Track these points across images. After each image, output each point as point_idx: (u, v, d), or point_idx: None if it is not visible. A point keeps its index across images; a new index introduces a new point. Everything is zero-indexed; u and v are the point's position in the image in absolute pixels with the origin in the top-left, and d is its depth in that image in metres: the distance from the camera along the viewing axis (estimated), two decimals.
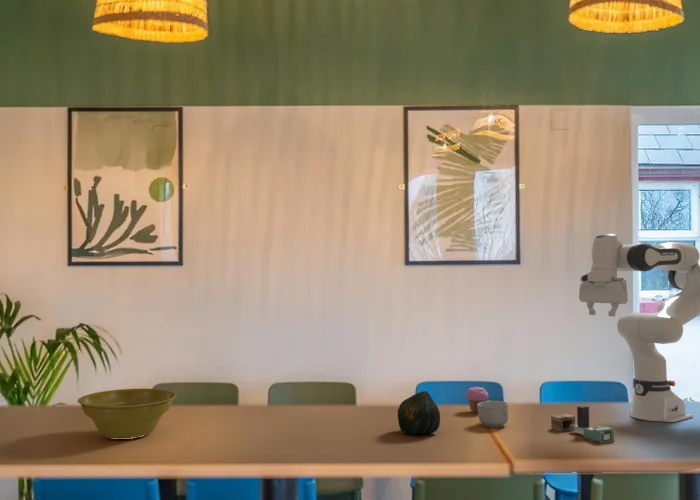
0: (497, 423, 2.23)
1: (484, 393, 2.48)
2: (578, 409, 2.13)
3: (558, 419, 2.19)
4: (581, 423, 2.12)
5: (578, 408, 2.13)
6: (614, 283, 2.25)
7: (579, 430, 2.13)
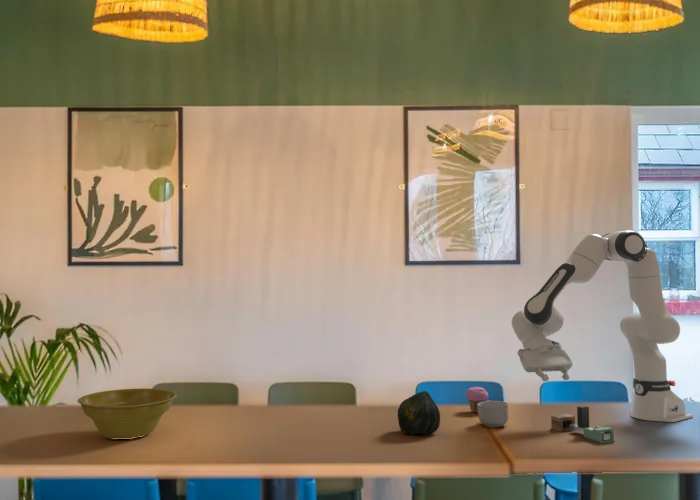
0: (497, 423, 2.23)
1: (484, 393, 2.48)
2: (578, 409, 2.13)
3: (558, 419, 2.19)
4: (581, 423, 2.12)
5: (578, 408, 2.13)
6: None
7: (579, 430, 2.13)
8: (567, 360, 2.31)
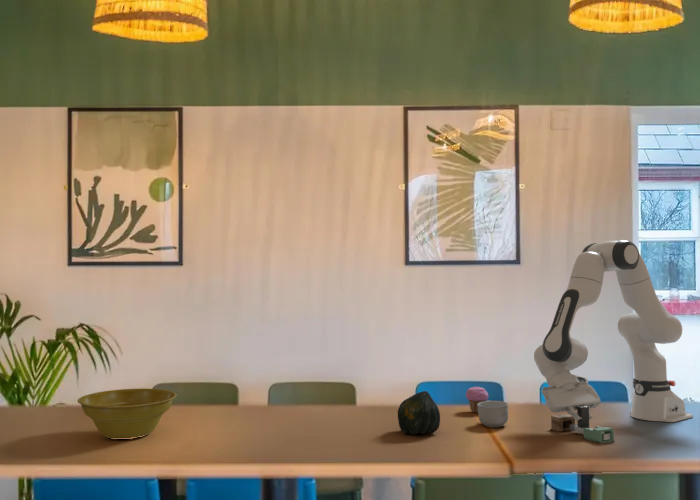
0: (497, 423, 2.23)
1: (484, 393, 2.48)
2: (578, 409, 2.13)
3: (558, 419, 2.19)
4: (581, 423, 2.12)
5: (578, 408, 2.13)
6: None
7: (579, 430, 2.13)
8: (595, 397, 2.19)
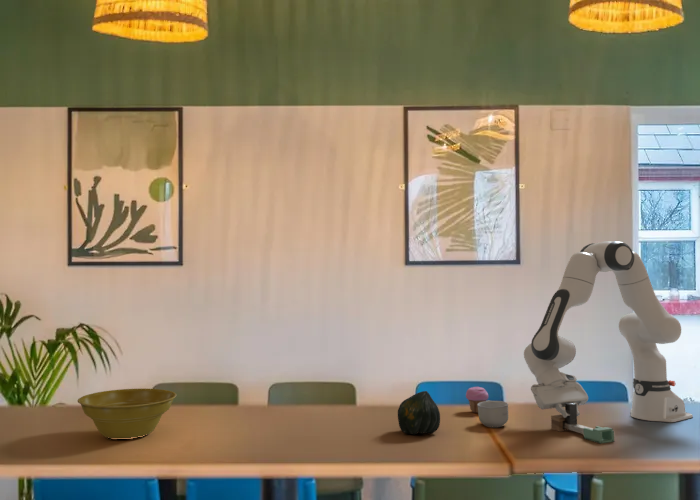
0: (497, 423, 2.23)
1: (484, 393, 2.48)
2: (566, 406, 2.18)
3: (558, 419, 2.19)
4: (569, 419, 2.17)
5: (566, 405, 2.18)
6: None
7: (567, 427, 2.18)
8: (582, 394, 2.25)
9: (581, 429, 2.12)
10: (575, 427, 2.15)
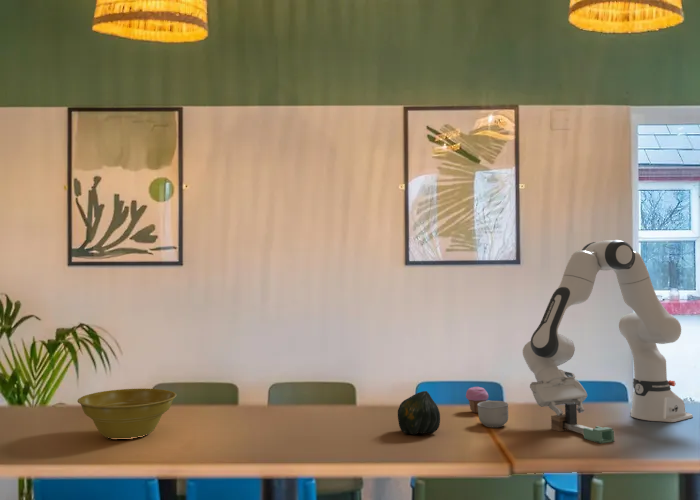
0: (497, 423, 2.23)
1: (484, 393, 2.48)
2: (566, 406, 2.19)
3: (558, 419, 2.19)
4: (568, 419, 2.17)
5: (566, 405, 2.19)
6: None
7: (567, 427, 2.18)
8: (581, 391, 2.25)
9: (581, 429, 2.12)
10: (575, 427, 2.15)
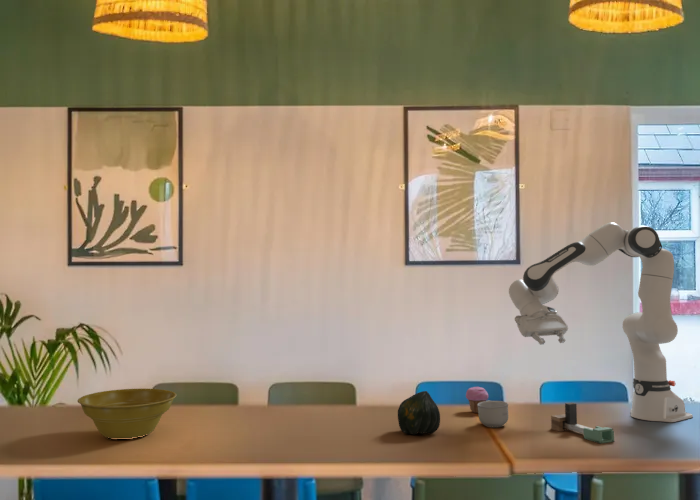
0: (497, 423, 2.23)
1: (484, 393, 2.48)
2: (566, 406, 2.19)
3: (558, 419, 2.19)
4: (568, 419, 2.17)
5: (566, 405, 2.19)
6: None
7: (567, 427, 2.18)
8: (563, 324, 2.42)
9: (581, 429, 2.12)
10: (575, 427, 2.15)
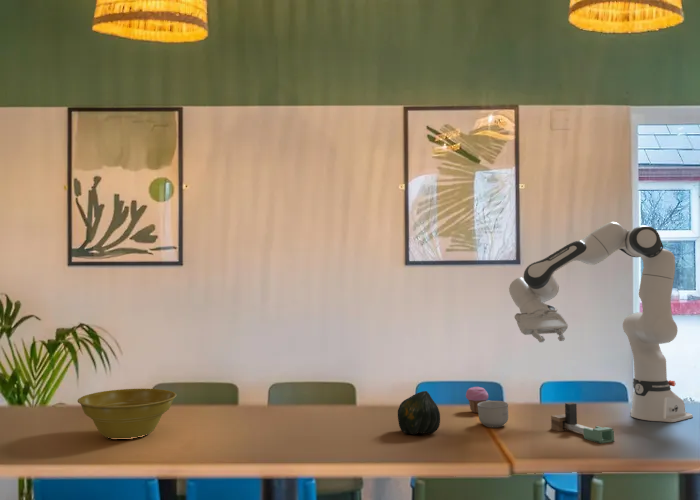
0: (497, 423, 2.23)
1: (484, 393, 2.48)
2: (566, 406, 2.19)
3: (558, 419, 2.19)
4: (568, 419, 2.17)
5: (566, 405, 2.19)
6: None
7: (567, 427, 2.18)
8: (562, 323, 2.43)
9: (581, 429, 2.12)
10: (575, 427, 2.15)
